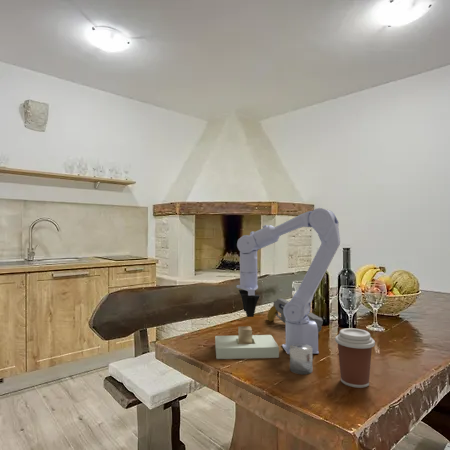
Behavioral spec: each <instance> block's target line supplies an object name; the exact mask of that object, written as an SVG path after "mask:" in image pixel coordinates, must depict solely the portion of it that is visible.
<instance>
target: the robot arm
mask: <svg viewBox="0 0 450 450" xmlns="http://www.w3.org/2000/svg"><path fill="white" fill-rule="evenodd" d="M301 228H312V229H313V230H314V231H315V232H316V233H317V236H318V238H319V241H320V242H321V244H320V246H319V248H318V250H317V252H316V253H315V255H314V257H313V260H312V261H311V263H310V265H309V267H308V269H307V271H306V273H305V275H304V277H303V279H302V281H301V283H300V285H299V287H298V288H297V290H296V291H295V293H294V295H292V297H291V299H290V300H289V302H288V303H287V304H286V305H285V306H284V309H283V313H284V316H285V318H286V319H285V320H286V321H285V323H284V324H285V343H283V344H281V347H282V348H283V350H284V351H285V353H286V354H287V355H290V345H292V344H307V345H310V346H311V347H312V355H315V354H317V355H318V354H320V352H319V332H318V328H317V324H316V322H315V321H309V318H308V316H307V315H308V314H309V313H311V308H312V301H313V299H314V295H315V293H316V291H317V289H318V287H319V285H320V284H321V281H322V279H323V278H324V276H325V274H326V272H327V270H328V268H329V266H330V265H331V262H332V261H333V258H334V257H335V255H336V253H337V251H338V249H339V247H340V246H341V245H340V244H341V237H340V236H341V235H340V229H339V220H338V219H337V217H336V215H335V213H334V212H333V211H332V210H329V209H325V208H323V207H318V208H315V209H313V210H310V211H309V210H307V211H306V212H303V213H301V214H299V215H297V216H295V217H293V218H291V219H289V220H286V221H285V222H283V223H281V224H278V225H277V226H273V225H271V224H269V225H268V224H264V225H263V226H262V228H260V229H258V230H256V231H252V230H251V232H249V234H244V235H243V234H242V236H241V237H240V238H238V239H237V243H236V247H237V250H238V251H239V284H237V285H236V286H235V287H236V288H237V289H238V292H239V295H240V297H241V302H242V307H243V308H242V309H243V310H244V311H243V312H245V314H246V317H248V318H253V317H254V316H255V312H256V308H257V303H258V301H259V299H260V297H261V295H260V294H256V291H257V290H258V289H259V285H258V251H259V250H261V249H263V248H266V247H268V246H270V245H273V244H275V243H277V242H278V241H279V239H280V237H281V236H284V235H287V234H289V233H291V232H293V231H296V230H298V229H301Z"/></svg>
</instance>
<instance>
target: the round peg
mask: <svg viewBox="0 0 450 450" xmlns="http://www.w3.org/2000/svg"><path fill="white" fill-rule="evenodd" d="M289 370H290V371H291V372H292V373H293V374H296V375H310V374H312V373H313V354H312V347H311V346H310V345H307V344H292V345H290V354H289Z"/></svg>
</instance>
